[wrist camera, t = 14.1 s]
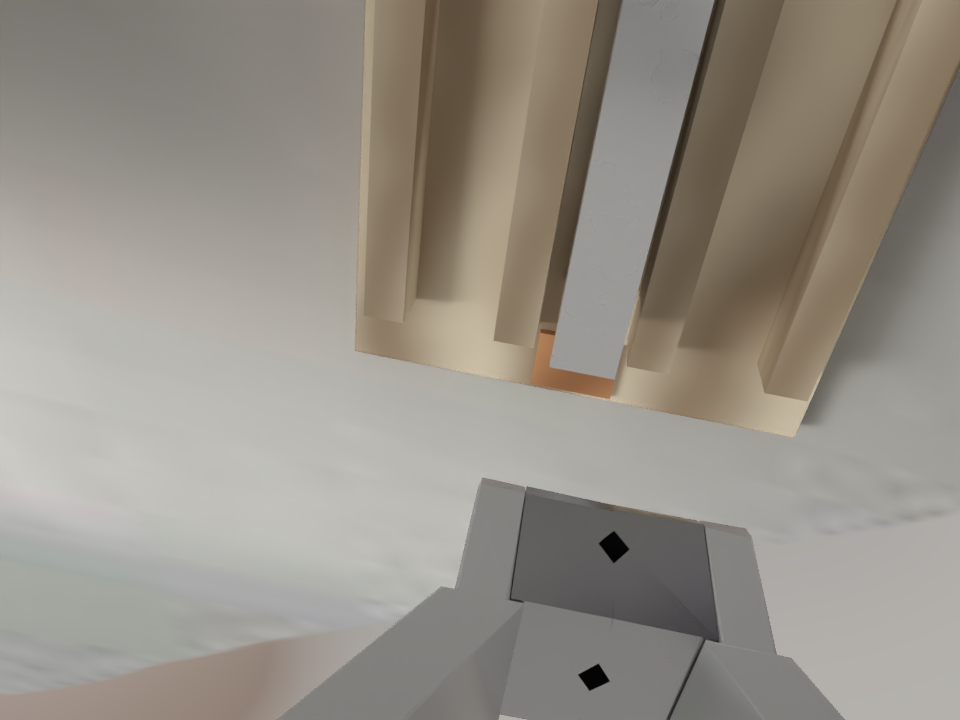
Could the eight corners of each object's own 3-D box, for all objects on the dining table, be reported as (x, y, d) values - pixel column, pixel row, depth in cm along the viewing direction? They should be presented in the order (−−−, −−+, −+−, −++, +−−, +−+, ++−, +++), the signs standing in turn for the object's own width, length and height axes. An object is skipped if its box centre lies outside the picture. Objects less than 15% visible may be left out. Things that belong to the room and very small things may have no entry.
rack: (362, 338, 32) (339, 377, 29) (387, -360, 20) (351, -396, 17) (789, 422, 30) (803, 470, 28) (1096, -279, 18) (1167, -305, 16)
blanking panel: (640, -96, 21) (641, -91, 16) (711, -86, 21) (734, -77, 16) (565, 280, 28) (549, 367, 23) (618, 290, 28) (614, 379, 23)
